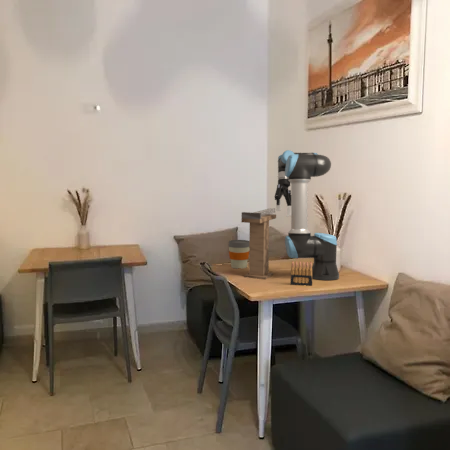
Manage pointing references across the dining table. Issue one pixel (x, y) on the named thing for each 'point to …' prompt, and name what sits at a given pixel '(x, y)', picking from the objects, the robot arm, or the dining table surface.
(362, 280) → the dining table surface
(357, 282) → the dining table surface
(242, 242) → the reusable coffee cup
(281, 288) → the dining table surface
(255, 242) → the stand
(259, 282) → the dining table surface
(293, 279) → the ammunition clip
